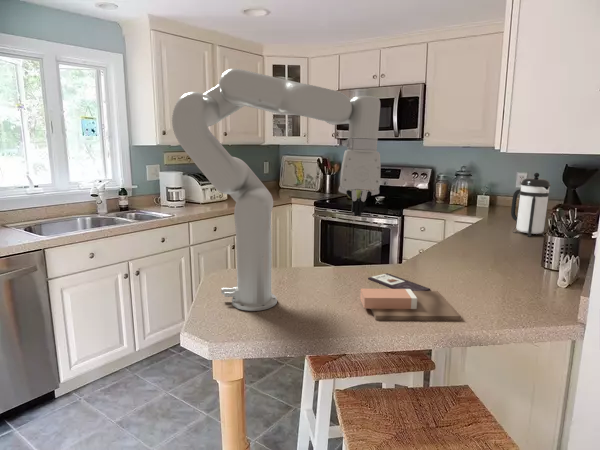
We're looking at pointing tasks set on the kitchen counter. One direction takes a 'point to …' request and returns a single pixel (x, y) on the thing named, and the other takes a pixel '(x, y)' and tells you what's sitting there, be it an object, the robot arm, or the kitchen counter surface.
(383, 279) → the chocolate bar
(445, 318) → the board
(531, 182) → the coffee press
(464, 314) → the kitchen counter surface
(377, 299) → the slab
